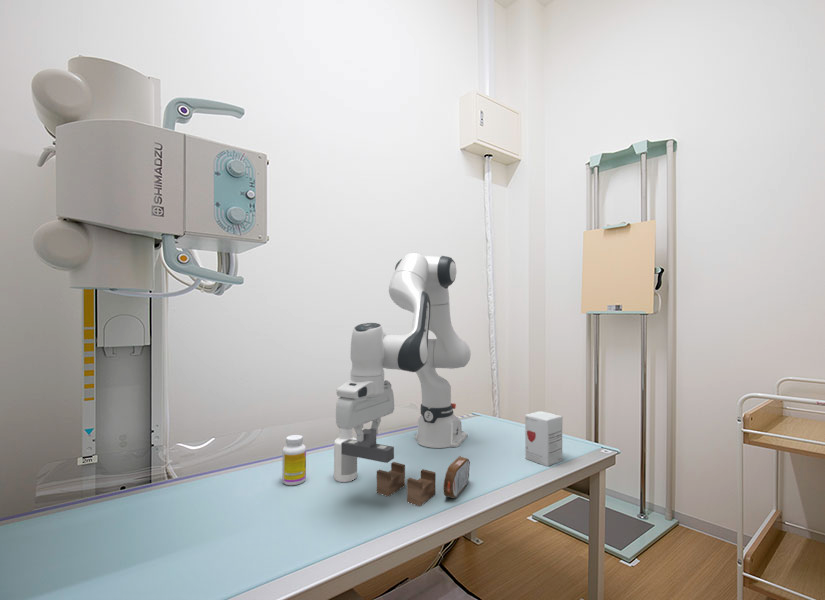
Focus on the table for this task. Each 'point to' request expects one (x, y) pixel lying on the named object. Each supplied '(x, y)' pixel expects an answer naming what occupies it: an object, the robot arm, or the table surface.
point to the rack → (416, 489)
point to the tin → (456, 477)
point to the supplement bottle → (294, 461)
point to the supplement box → (543, 438)
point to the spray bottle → (344, 459)
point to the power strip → (368, 448)
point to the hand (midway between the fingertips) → (367, 437)
